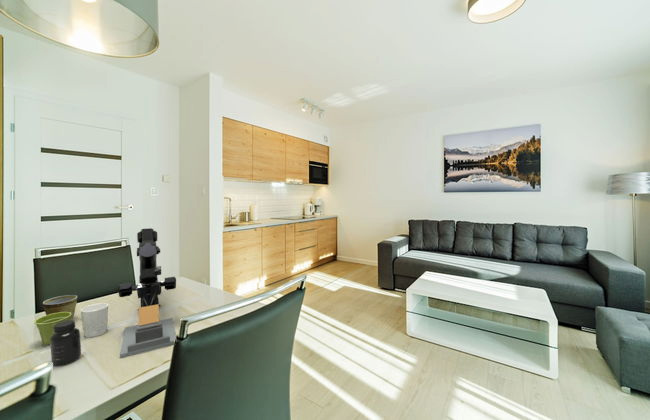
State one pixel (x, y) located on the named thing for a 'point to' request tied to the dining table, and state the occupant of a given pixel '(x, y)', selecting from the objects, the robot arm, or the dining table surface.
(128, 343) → the switch board
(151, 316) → the lever
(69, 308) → the ceramic cup
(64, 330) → the supplement bottle
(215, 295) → the dining table surface
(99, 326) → the white cup
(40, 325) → the plant pot
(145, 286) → the robot arm
